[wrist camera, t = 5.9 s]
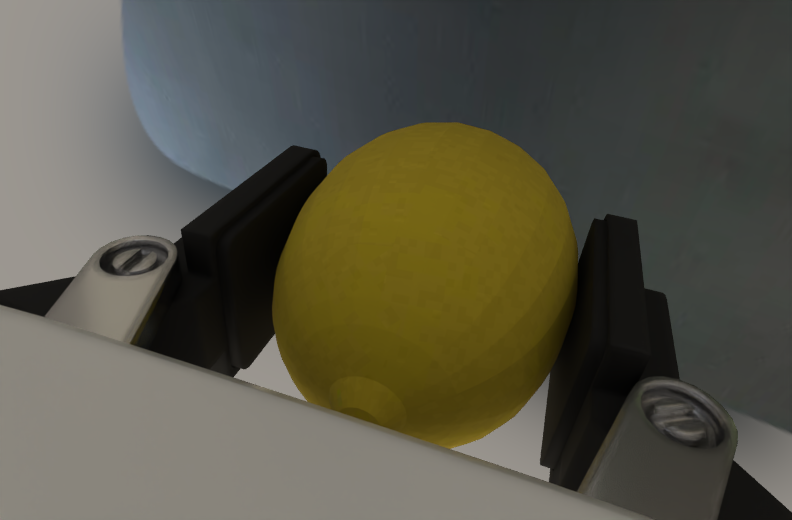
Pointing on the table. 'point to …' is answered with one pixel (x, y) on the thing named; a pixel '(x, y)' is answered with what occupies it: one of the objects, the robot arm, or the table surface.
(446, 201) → the lemon
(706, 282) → the table surface
